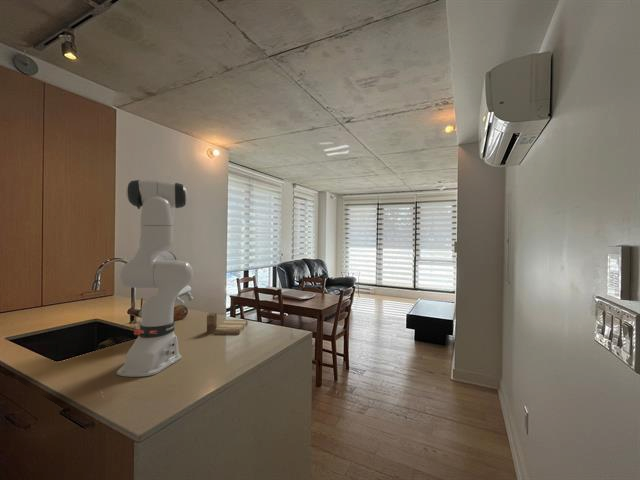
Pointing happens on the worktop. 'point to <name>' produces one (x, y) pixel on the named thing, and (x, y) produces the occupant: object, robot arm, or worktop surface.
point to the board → (231, 327)
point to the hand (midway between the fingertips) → (187, 302)
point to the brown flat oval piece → (180, 312)
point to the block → (211, 322)
